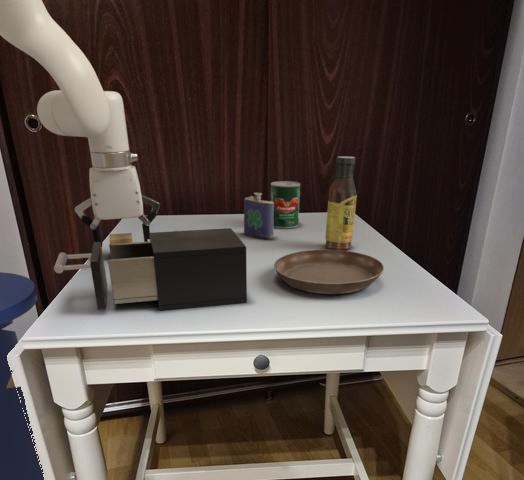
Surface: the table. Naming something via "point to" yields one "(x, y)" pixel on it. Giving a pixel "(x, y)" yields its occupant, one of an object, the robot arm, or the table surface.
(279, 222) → the canned tomato
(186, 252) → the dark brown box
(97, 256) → the drawer
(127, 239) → the block
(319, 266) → the plant saucer
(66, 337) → the table surface
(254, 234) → the flask
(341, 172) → the sauce bottle
